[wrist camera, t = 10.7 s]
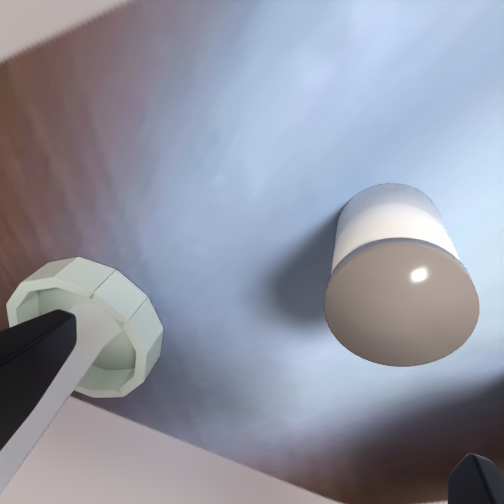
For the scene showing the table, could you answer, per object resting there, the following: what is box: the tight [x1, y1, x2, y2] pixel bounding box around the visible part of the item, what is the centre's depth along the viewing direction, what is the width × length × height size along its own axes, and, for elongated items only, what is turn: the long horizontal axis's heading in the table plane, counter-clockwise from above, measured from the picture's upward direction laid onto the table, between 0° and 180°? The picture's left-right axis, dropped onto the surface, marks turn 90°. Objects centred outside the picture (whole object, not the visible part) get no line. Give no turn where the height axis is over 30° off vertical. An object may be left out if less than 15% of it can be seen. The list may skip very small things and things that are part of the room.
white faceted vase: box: [0, 304, 122, 494], centre depth 21 cm, size 5×4×15 cm
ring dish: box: [6, 257, 164, 398], centre depth 27 cm, size 10×10×2 cm
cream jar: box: [324, 183, 479, 367], centre depth 17 cm, size 5×5×7 cm
